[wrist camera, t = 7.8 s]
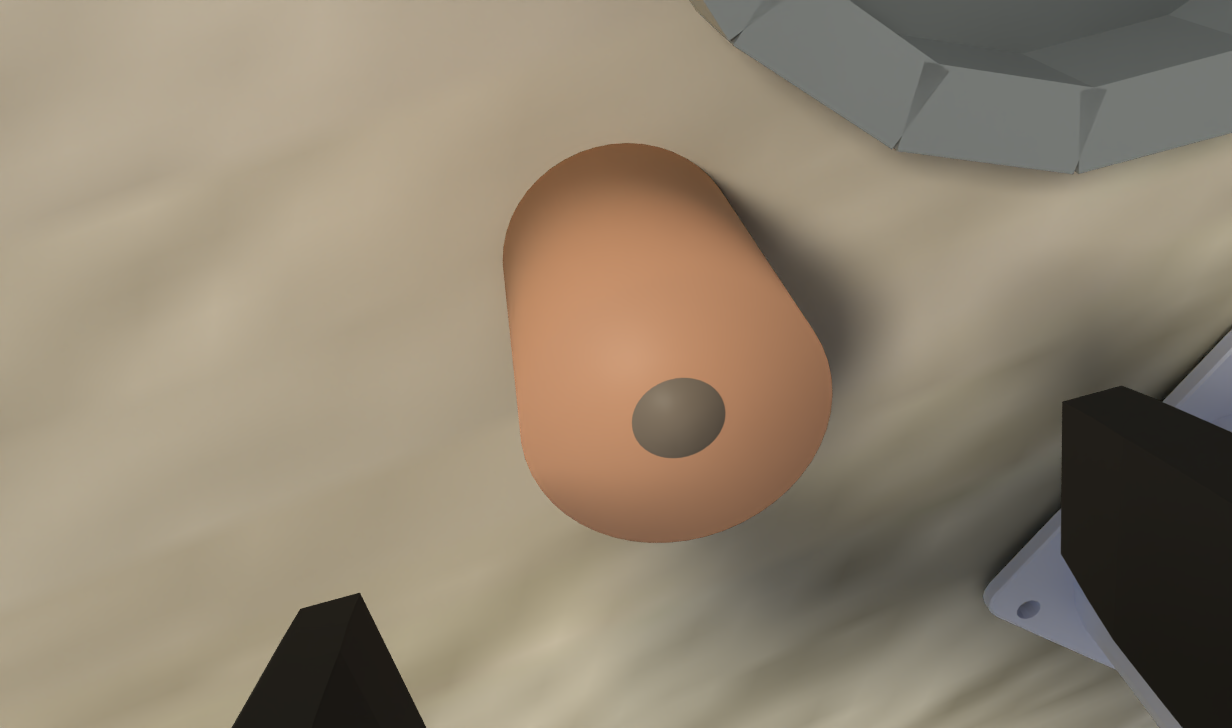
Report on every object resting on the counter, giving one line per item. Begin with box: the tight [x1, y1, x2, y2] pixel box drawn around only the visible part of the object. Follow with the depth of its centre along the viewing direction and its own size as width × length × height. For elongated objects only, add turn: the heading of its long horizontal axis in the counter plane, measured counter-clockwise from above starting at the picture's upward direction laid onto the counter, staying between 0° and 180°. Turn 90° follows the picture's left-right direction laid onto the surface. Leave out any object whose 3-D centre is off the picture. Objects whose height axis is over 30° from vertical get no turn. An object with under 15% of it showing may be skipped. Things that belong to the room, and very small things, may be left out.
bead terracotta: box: [503, 143, 832, 543], centre depth 15 cm, size 4×4×5 cm
